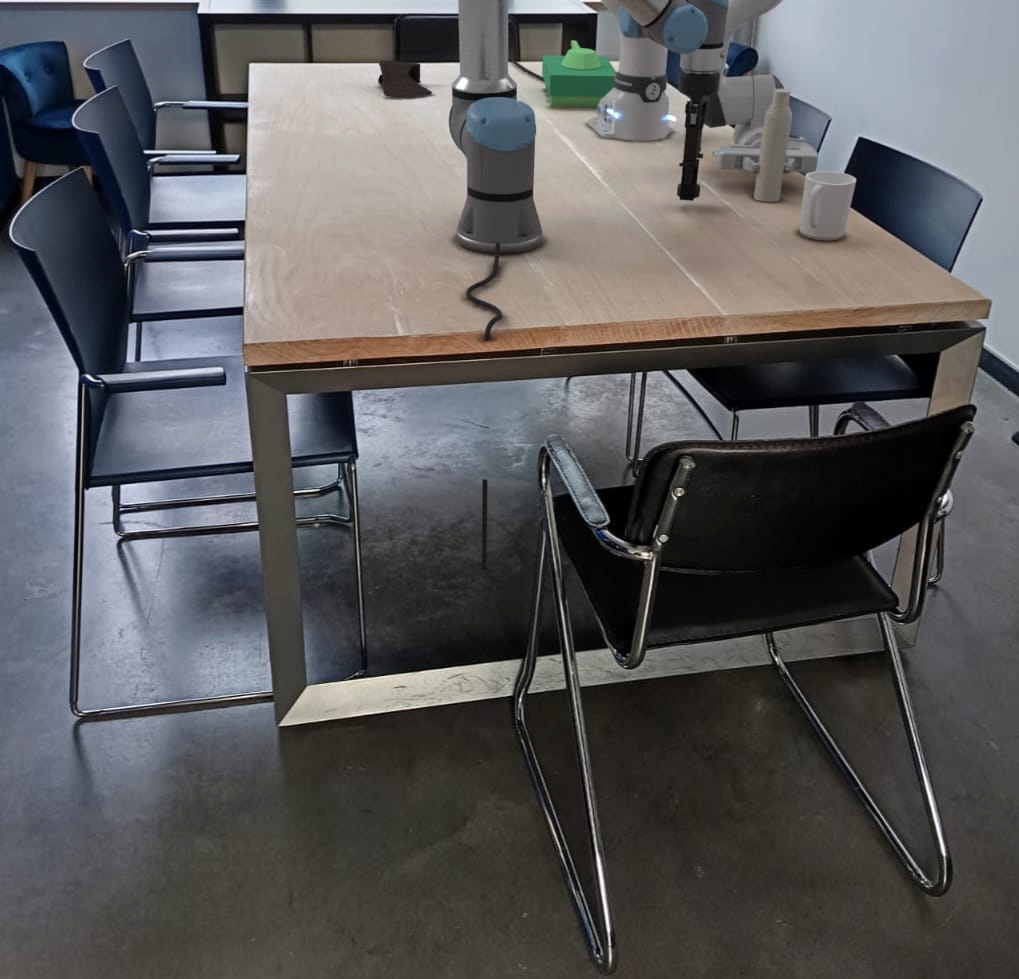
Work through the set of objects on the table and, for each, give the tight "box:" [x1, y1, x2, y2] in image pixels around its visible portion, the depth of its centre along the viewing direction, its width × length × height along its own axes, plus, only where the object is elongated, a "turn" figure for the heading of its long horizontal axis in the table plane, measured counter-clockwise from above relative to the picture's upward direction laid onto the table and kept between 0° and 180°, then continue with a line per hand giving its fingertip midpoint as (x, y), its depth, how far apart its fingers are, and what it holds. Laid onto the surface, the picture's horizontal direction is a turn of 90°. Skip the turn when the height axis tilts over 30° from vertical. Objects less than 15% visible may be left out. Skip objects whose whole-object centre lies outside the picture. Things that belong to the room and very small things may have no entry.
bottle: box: [753, 88, 793, 203], centre depth 216 cm, size 5×5×21 cm
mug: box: [798, 170, 857, 241], centre depth 199 cm, size 11×9×10 cm
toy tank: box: [541, 40, 617, 108], centre depth 296 cm, size 18×12×35 cm
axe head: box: [377, 59, 433, 99], centre depth 299 cm, size 18×8×15 cm
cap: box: [676, 182, 701, 199], centre depth 213 cm, size 4×4×2 cm
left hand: (687, 195), depth 214 cm, fingers closed on cap, 4 cm apart
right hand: (772, 169), depth 217 cm, fingers closed on bottle, 5 cm apart
